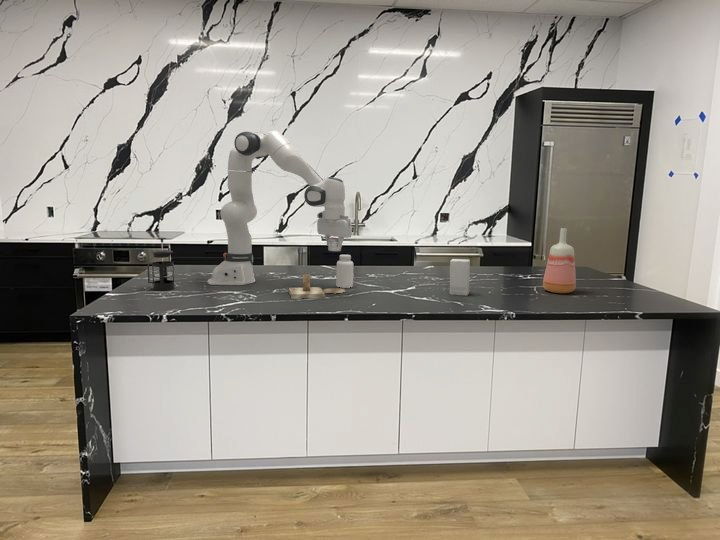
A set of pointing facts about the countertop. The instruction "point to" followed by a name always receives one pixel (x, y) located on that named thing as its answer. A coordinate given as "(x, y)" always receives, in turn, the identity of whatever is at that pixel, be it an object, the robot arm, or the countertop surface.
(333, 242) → the cap
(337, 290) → the coaster
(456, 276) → the skincare box
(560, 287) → the vase
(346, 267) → the pill bottle
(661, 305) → the countertop surface
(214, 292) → the countertop surface
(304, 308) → the countertop surface
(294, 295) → the post stand
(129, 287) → the countertop surface
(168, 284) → the french press
